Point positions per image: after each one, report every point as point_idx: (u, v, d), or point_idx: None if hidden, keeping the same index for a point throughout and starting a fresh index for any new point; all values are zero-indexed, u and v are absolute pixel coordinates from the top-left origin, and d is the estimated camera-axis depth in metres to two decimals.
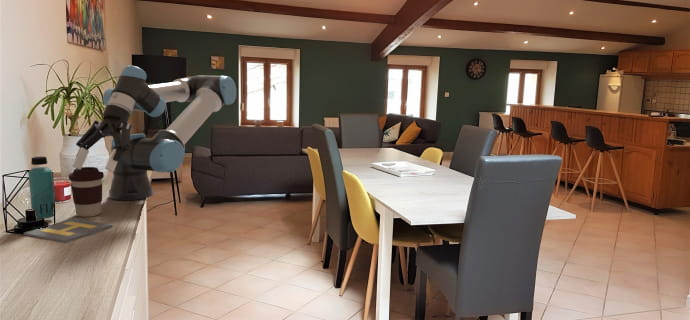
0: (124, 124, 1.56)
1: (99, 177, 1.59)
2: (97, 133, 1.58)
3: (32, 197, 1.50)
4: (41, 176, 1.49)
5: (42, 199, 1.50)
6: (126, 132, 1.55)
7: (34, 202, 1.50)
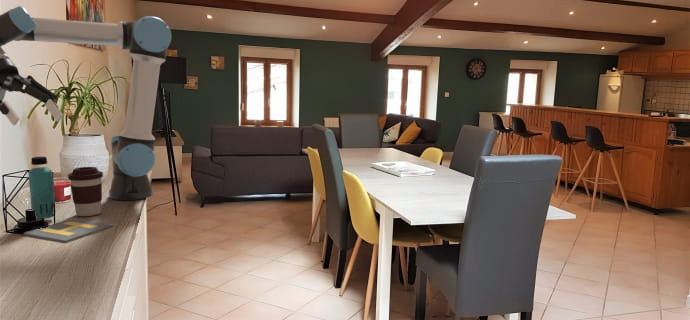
0: None
1: (98, 176, 1.59)
2: (24, 92, 1.48)
3: (32, 197, 1.50)
4: (41, 176, 1.49)
5: (42, 199, 1.50)
6: None
7: (34, 202, 1.50)
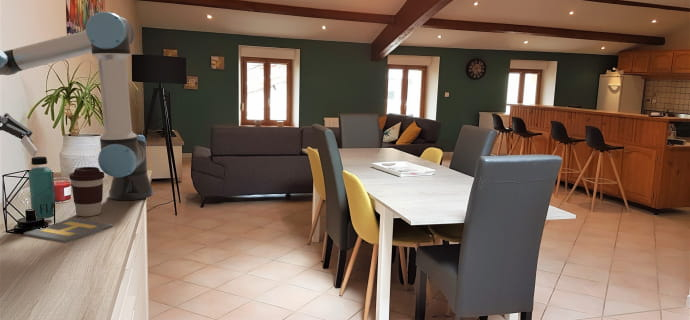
0: None
1: (99, 177, 1.59)
2: (1, 129, 1.59)
3: (32, 197, 1.50)
4: (41, 176, 1.49)
5: (42, 199, 1.50)
6: None
7: (34, 202, 1.50)
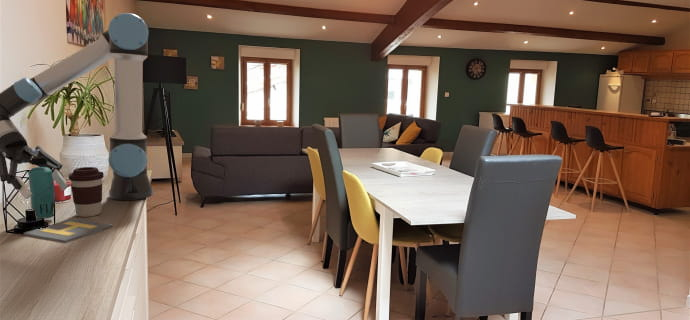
0: None
1: (98, 177, 1.59)
2: None
3: (32, 197, 1.50)
4: (41, 176, 1.49)
5: (42, 199, 1.50)
6: None
7: (34, 202, 1.50)
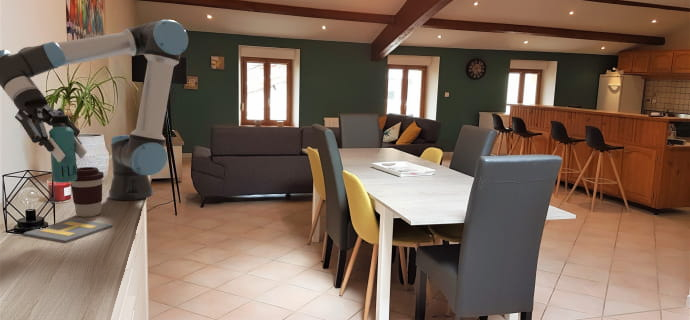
0: None
1: (98, 177, 1.59)
2: (50, 124, 1.44)
3: (53, 158, 1.39)
4: (62, 136, 1.38)
5: (64, 161, 1.39)
6: (24, 124, 1.36)
7: (55, 164, 1.39)
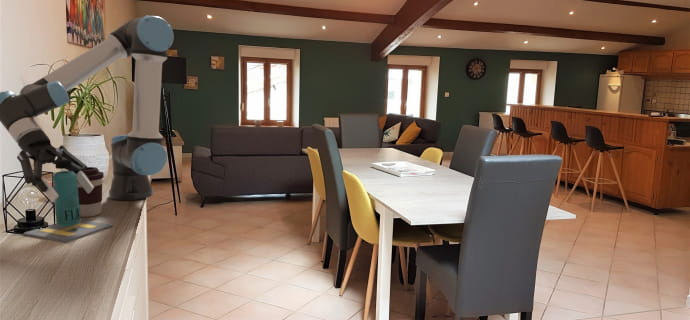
0: None
1: (98, 177, 1.59)
2: None
3: (57, 203, 1.41)
4: (66, 181, 1.40)
5: (68, 205, 1.41)
6: (22, 165, 1.38)
7: (59, 208, 1.41)
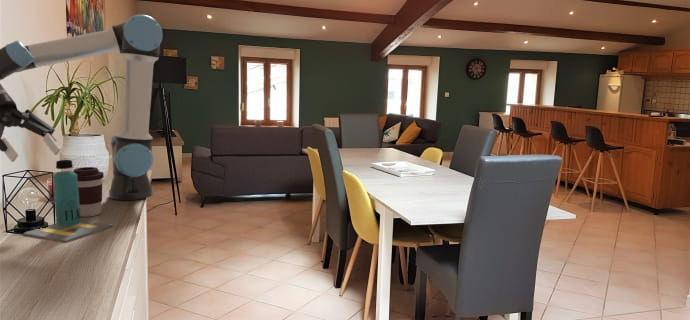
0: None
1: (98, 177, 1.59)
2: (22, 126, 1.50)
3: (57, 203, 1.41)
4: (66, 181, 1.40)
5: (68, 206, 1.41)
6: None
7: (59, 208, 1.41)
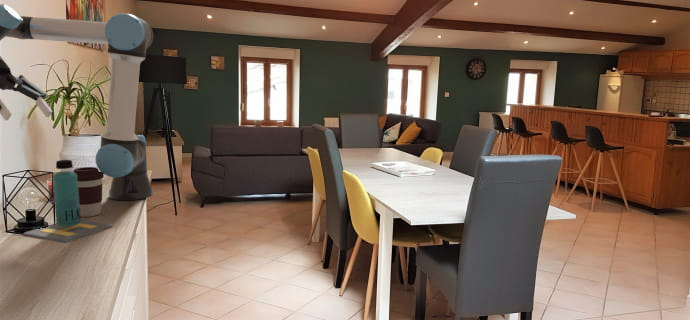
0: None
1: (98, 177, 1.59)
2: (16, 90, 1.60)
3: (57, 203, 1.41)
4: (66, 181, 1.40)
5: (68, 206, 1.41)
6: None
7: (59, 208, 1.41)
